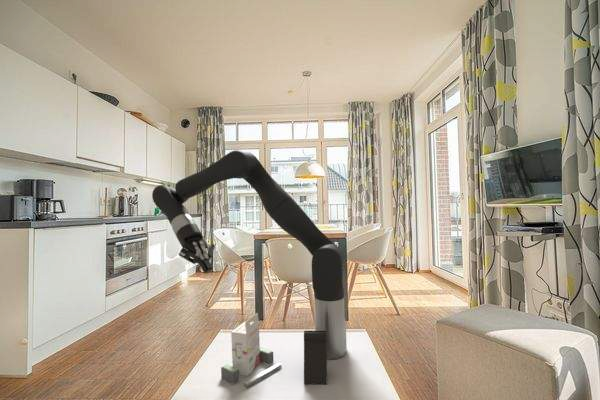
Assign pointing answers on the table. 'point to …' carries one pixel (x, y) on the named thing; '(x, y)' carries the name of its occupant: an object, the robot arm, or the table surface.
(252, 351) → the ink cartridge box
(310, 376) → the phone stand
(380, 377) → the table surface
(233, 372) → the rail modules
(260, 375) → the rail
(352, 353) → the table surface
